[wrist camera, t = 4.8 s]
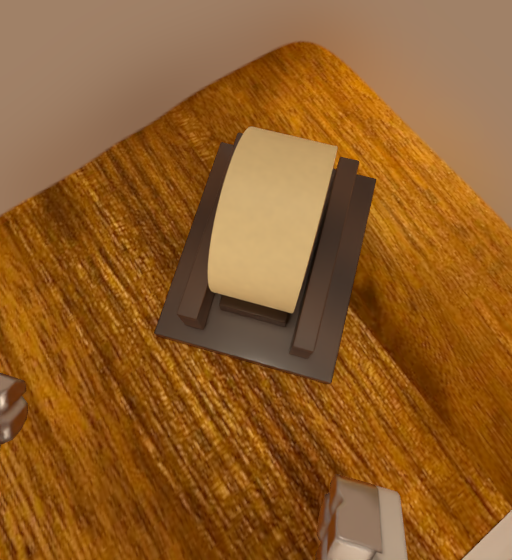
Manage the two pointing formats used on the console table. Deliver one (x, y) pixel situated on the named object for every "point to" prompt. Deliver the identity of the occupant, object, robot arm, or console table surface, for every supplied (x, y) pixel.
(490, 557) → the heart sculpture
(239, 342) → the tape holder
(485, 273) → the console table surface
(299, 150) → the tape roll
